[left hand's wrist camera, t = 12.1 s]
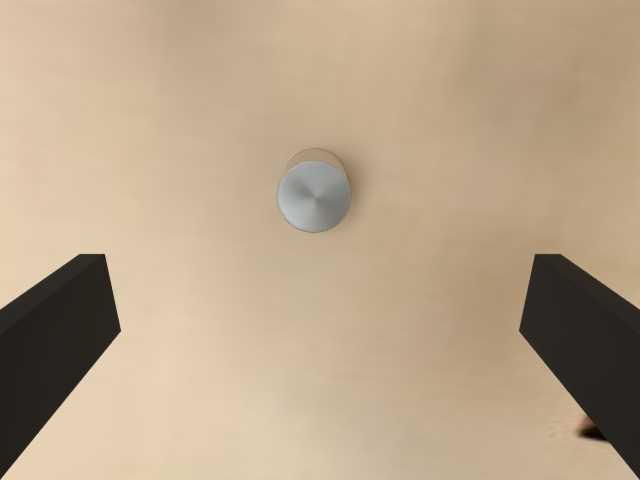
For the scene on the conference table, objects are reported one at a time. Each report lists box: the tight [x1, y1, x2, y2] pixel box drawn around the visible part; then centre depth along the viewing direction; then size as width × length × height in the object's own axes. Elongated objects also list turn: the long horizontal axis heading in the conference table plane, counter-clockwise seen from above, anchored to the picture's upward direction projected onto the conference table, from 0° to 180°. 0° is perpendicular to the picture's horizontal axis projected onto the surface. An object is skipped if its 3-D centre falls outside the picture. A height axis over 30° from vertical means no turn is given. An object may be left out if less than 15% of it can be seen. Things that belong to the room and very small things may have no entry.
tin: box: [277, 149, 351, 233], centre depth 24 cm, size 4×4×4 cm
